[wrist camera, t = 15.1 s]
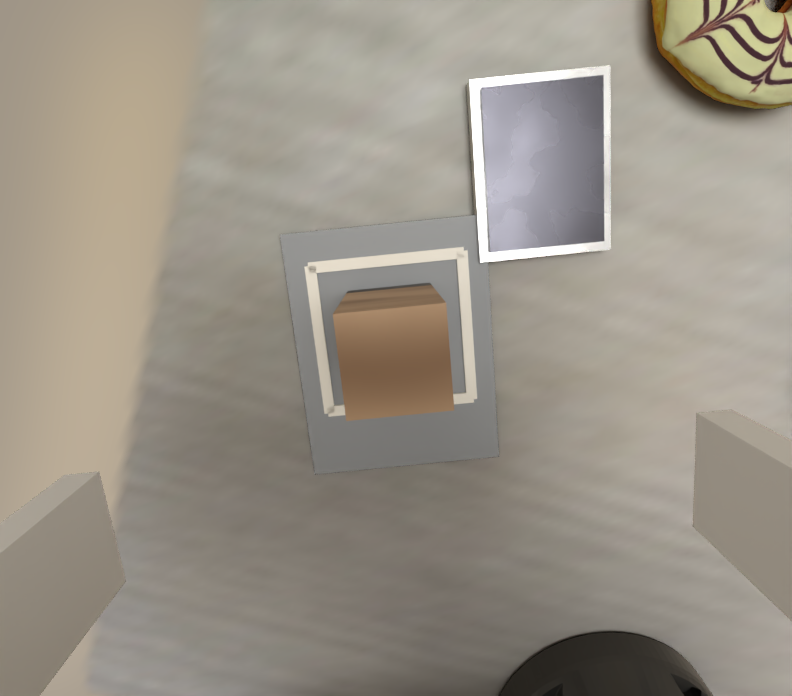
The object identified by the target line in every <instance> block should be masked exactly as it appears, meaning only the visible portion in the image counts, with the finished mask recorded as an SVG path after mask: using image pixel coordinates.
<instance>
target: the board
mask: <svg viewBox="0 0 792 696" xmlns="http://www.w3.org/2000/svg"><path fill="white" fill-rule="evenodd" d="M280 240H281V247H282V253H283V260H284V267H285V274H286V281H287V288H288V295H289V301H290V308H291V315H292V322H293V329H294V336H295V343H296V349H297V356H298V363H299V370H300V377H301V384H302V391H303V397H304V404H305V411H306V418H307V425H308V432H309V439H310V445H311V452H312V459H313V466H314V473H315V475H316V474H326V473H336V472H347V471H357V470H367V469H377V468H388V467H398V466H408V465H418V464H429V463H439V462H449V461H459V460H470V459H480V458H490V457H499V446H498V428H497V410H496V393H495V375H494V357H493V340H492V322H491V304H490V286H489V269H488V262H481V263H480V262H479V256H478V239H477V222H476V215H469V216H459V217H449V218H439V219H429V220H419V221H409V222H399V223H390V224H380V225H370V226H360V227H350V228H340V229H330V230H320V231H310V232H300V233H290V234H280ZM421 283H431V285H432V286H433V287H434V288H435V290H436V291H437V292H438V293H439V295H440V296H441V297H442V298H443V300H444V301H445V302H446V307H447V320H448V333H449V346H450V359H451V372H452V386H453V399H454V411H444V412H434V413H423V414H413V415H403V416H393V417H383V418H372V419H362V420H352V421H346V415H345V407H344V399H343V391H342V383H341V376H340V368H339V360H338V352H337V344H336V336H335V328H334V321H333V313H334V311H335V310H336V308H337V307H338V305H339V304H340V302H341V301H342V299H343V298H344V296H345V295H346V293H347V292H348V291H351V290H361V289H371V288H381V287H391V286H401V285H411V284H421Z"/></svg>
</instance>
